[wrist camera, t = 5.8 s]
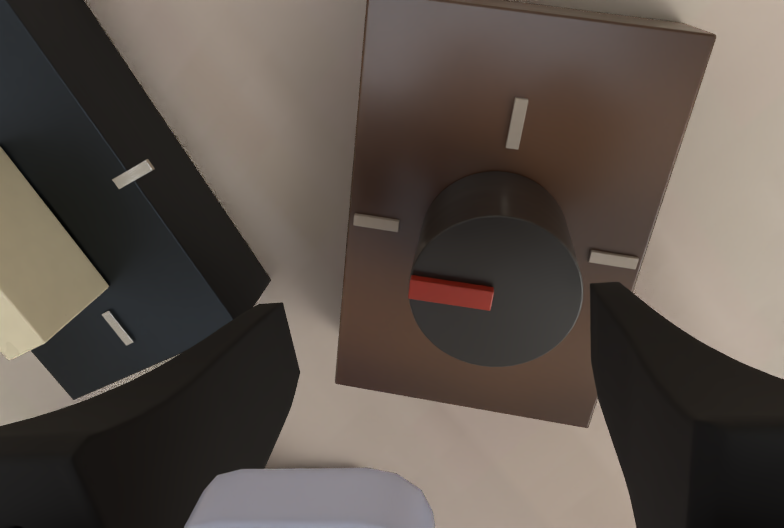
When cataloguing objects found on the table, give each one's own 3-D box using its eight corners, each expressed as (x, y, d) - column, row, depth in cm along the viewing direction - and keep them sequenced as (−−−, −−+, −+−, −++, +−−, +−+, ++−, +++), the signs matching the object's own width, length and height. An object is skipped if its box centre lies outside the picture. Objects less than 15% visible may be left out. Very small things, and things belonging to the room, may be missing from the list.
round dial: (583, 181, 18) (605, 234, 14) (550, 312, 20) (563, 386, 16) (430, 161, 18) (416, 208, 15) (413, 292, 20) (398, 360, 17)
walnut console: (577, 377, 24) (589, 432, 22) (350, 338, 25) (333, 387, 22) (684, 22, 18) (720, 35, 16) (384, -16, 19) (366, -11, 16)
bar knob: (110, 286, 21) (39, 348, 18) (77, 303, 22) (2, 366, 18) (-2, 143, 19) (-103, 182, 16) (-35, 165, 20) (-141, 207, 16)
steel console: (289, 272, 24) (257, 321, 21) (107, 355, 27) (55, 410, 24) (91, -32, 20) (14, -29, 17) (-96, 107, 23) (-192, 132, 20)
